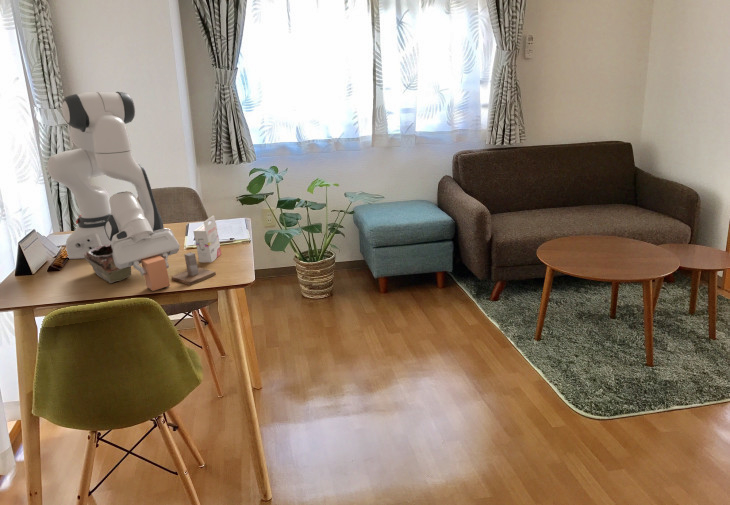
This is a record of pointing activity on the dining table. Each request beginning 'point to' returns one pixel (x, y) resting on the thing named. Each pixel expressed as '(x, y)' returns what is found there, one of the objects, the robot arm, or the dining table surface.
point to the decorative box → (106, 264)
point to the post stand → (192, 271)
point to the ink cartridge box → (207, 241)
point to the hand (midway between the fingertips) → (155, 271)
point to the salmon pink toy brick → (155, 272)
